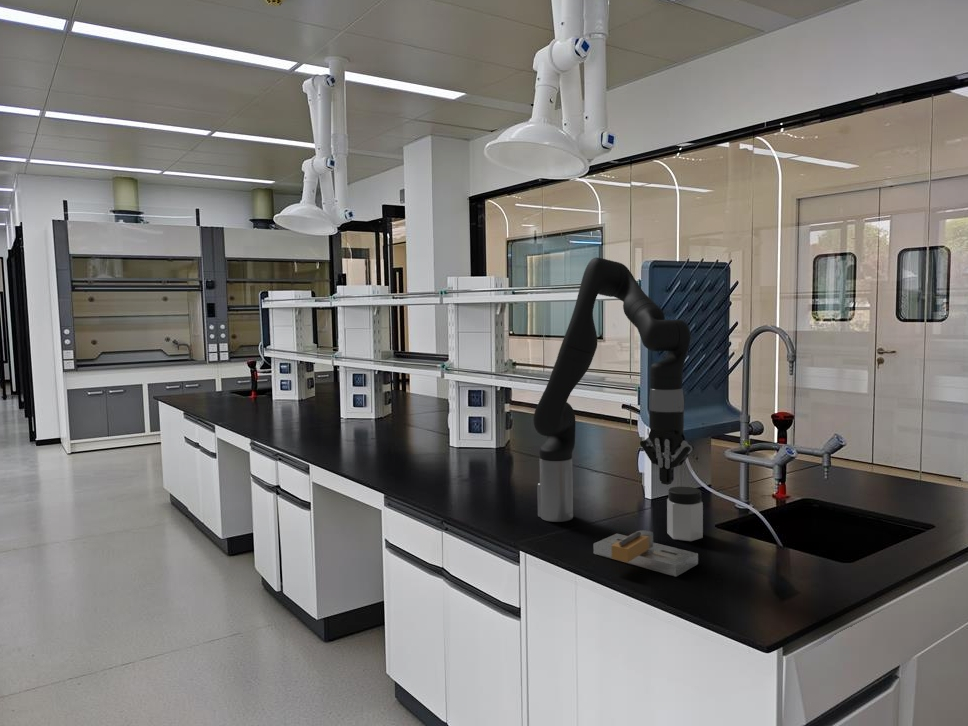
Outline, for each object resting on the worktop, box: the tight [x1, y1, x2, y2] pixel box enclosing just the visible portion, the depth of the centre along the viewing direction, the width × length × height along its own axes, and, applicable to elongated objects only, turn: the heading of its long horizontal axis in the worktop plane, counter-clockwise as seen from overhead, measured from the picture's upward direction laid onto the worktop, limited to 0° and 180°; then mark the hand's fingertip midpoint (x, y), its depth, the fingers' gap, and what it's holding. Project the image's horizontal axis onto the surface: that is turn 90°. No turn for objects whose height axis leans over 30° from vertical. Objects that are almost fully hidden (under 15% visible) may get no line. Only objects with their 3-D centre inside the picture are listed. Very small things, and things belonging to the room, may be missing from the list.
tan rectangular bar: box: [611, 529, 654, 563], centre depth 158 cm, size 14×4×4 cm, turn 140°
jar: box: [666, 486, 704, 542], centre depth 177 cm, size 9×8×12 cm
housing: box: [593, 533, 699, 578], centre depth 162 cm, size 22×10×3 cm, turn 45°
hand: (666, 483), depth 156 cm, fingers closed
